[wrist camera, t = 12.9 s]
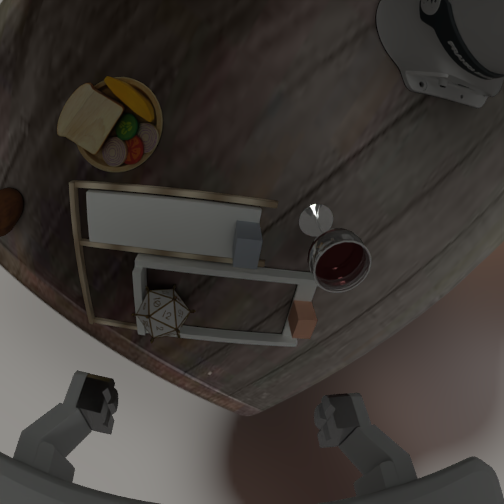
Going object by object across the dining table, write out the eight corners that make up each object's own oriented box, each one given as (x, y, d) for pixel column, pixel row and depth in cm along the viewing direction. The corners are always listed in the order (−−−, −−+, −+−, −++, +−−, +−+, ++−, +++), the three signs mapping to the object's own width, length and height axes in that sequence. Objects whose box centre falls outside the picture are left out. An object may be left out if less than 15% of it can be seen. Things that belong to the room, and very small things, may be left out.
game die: (170, 292, 51) (148, 345, 46) (139, 267, 44) (113, 325, 40) (212, 299, 46) (189, 359, 42) (182, 273, 40) (153, 341, 35)
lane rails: (277, 200, 39) (278, 204, 38) (246, 339, 52) (246, 344, 51) (72, 180, 36) (69, 182, 35) (91, 319, 48) (89, 323, 47)
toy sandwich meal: (122, 188, 37) (110, 200, 33) (58, 127, 32) (39, 133, 28) (185, 120, 34) (178, 124, 30) (113, 54, 28) (98, 51, 24)
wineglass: (344, 230, 42) (377, 277, 32) (302, 249, 43) (323, 302, 33) (330, 190, 39) (364, 229, 29) (284, 210, 40) (303, 256, 30)
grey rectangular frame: (319, 273, 46) (328, 293, 41) (296, 338, 53) (301, 359, 48) (138, 253, 42) (129, 272, 38) (142, 324, 49) (136, 344, 45)
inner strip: (261, 207, 40) (265, 227, 34) (251, 256, 43) (254, 281, 38) (89, 189, 36) (69, 206, 31) (92, 238, 40) (75, 259, 35)
